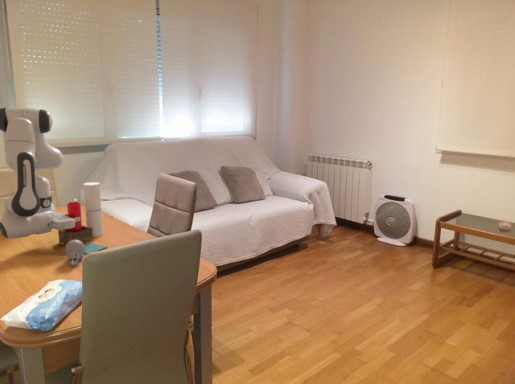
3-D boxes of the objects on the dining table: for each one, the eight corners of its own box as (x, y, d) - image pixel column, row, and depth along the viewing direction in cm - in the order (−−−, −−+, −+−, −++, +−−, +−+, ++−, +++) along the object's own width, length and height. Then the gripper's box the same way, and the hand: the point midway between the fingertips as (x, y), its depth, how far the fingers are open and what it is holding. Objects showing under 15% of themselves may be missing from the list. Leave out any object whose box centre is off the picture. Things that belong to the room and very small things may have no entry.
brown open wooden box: (59, 242, 182) (58, 230, 181) (78, 236, 191) (77, 224, 190) (74, 246, 178) (73, 233, 177) (92, 240, 187) (92, 227, 185)
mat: (72, 250, 173) (72, 249, 173) (91, 244, 182) (91, 242, 182) (88, 255, 169) (88, 253, 168) (107, 248, 177) (107, 246, 177)
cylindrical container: (97, 237, 191) (94, 185, 186) (83, 236, 192) (80, 184, 187) (105, 232, 198) (102, 182, 192) (92, 231, 199) (89, 181, 194)
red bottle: (84, 239, 187) (81, 196, 183) (80, 243, 182) (77, 199, 177) (72, 238, 187) (69, 196, 182) (67, 242, 181) (64, 199, 177)
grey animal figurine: (63, 273, 157) (59, 257, 152) (68, 252, 166) (65, 236, 161) (83, 271, 158) (80, 255, 153) (87, 250, 168) (84, 235, 163)
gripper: (52, 220, 165) (86, 214, 175) (34, 211, 179) (66, 206, 188) (54, 235, 166) (87, 228, 176) (36, 224, 180) (67, 219, 190)
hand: (76, 216), depth 182 cm, fingers closed on red bottle, 5 cm apart
